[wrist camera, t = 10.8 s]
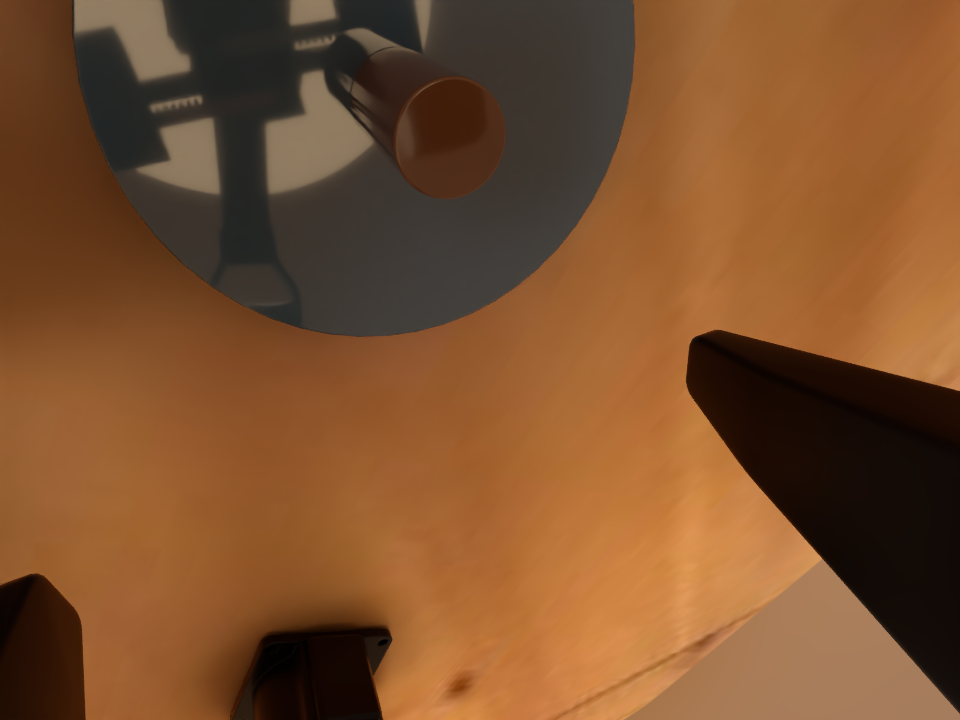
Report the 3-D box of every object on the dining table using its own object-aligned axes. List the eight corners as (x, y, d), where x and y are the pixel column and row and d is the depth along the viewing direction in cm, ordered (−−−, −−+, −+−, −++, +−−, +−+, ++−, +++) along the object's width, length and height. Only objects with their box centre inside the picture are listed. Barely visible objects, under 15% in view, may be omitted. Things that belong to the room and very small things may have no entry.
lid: (615, 252, 24) (708, 321, 19) (223, 377, 20) (231, 494, 16) (617, -307, 15) (795, -410, 10) (-86, -242, 11) (-255, -354, 7)
